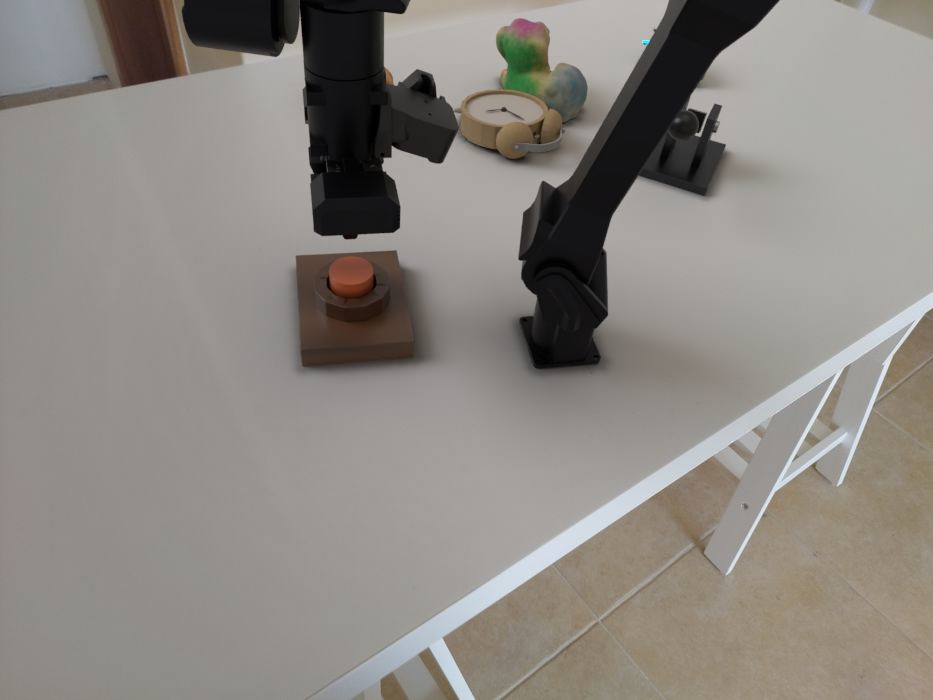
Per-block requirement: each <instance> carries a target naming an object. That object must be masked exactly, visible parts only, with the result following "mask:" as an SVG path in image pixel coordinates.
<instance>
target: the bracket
mask: <svg viewBox="0 0 933 700" xmlns="http://www.w3.org/2000/svg"><path fill="white" fill-rule="evenodd" d="M690 100H691V97H690V98H689V99H688V101H687V102H686V104H685V105H684V107H683V108H682V110H688V106H689V104H690ZM722 108H723V105H722V104H719V103H713V105H712V108H711V110H710V111H709V113H708V115H707V117H706V119H705V122H704V125H703V129H702V130H701V131H702V132H701V135H700V136H699V135H696V134H695V135H694V136H693V137H692V138H691V139H689V140H686V141H677V140H675V139H673V138H672V137H671V136H670V134H669V132H668V131H667V133H666V134H665V136H664V137H663V139H662V140H661V142H660V144H659V145H658V147H657V148H656V150H655V151H654V153H653V154H652V156H651V157H650V159H649V160H648V162H647V163H646V165H645V166H644V168H643V170H642V171H641V173H640V174H639V176H638V177H643V178H645V179H647V180H651V181H654V182H658V183H661V184H663V185H664V184H665V185H667V186H671V187H674V188H677V189H680V190H683V191H686V192H689V193H693V194H696V195H699V196H702V197H705V196H706V193H707V192H708V189H709V186H710V184H711V183H712V180H713V178H714V174H715V172H716V170H717V168H718V166H719V164H720V162H721V159H722V157H723V154H724V152H725V149H726V146H727V143H722V142H719V141H717V140H712V136H713V134H717V132H718V129H719V128H720V124H721V121H718V119H719V117H720V114H721V111H722Z"/></svg>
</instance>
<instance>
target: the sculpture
mask: <svg viewBox="0 0 933 700" xmlns="http://www.w3.org/2000/svg"><path fill="white" fill-rule="evenodd" d="M550 32H551V31H550V29H549V28H548V26H547V25H546V24H545V23H544V22H542V21H531V20H528V19H526V18H522V17H519V18H515V19H513V21H512V22H511V23H510V25H503V26H501V27H500V28H499V29H498V30H497V33H496V36H495V45H496V50H497V51H498V53H499V55H500V56H501V57H502V59H504V60H505V63H506V64H507V66H506V67H507V68H503V69H502V70H501V72H500V76H499V77H500V78H499V81H500V84H501V86H502V88H503V89H504V90H515V91H520V92H524V93H528V94H530V95H533V96H535V97H537V98H539V99H540V100H542V101H543V102H544V103H545V104H546V106H547V107H548V111H549V109H553V110H556V111H557V112H558V113H559V114H560V115H561V118H562V123H567V122H568V121H569V120H572V119H575V118H576V117H578V114H579V113H580V111H581V109H582V107H583V106H584V105H585V103H586V100H587V97H588V82H587V79H586V77H585V75H584V74H583V72H582V71H581V70H580V69H579V68H578V67H577V66H575V65H572V64H569V63H566V62H560V63H558V64H556V65H555V68H554V69H553V70H551V66H550V63H549V47H550V42H551V37H550Z"/></svg>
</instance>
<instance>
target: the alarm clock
mask: <svg viewBox="0 0 933 700" xmlns="http://www.w3.org/2000/svg"><path fill="white" fill-rule="evenodd" d="M453 111H454V113H457V114H460V125H459V130H460V132H461V135H462V136H463V137H464V138H465V139H467V141H469V142H470V143H473V144H475V145H478V146H480V147H482V148H488V149H491V150H497V151H498V152H499V153H500V155H502V156H503V157H504V158H507V159H511V160H512V159H513V160H517V159H521V158H523V157H524V156H526V155H527V154H528V153H529V152H531V153H545V152H550V151H553V150H555V149H557V148H559V147H560V146H561V145H562V142H563V141H562V140H563V134H565V133H566V129H565V128H564V125H563V122H562V118H561V115H560V114H559V113H558V112H557V111H556V110H553V109H549V111H548V107H547V106H546V104H545V103H544V102H543V101H542V100H540V99H539V98H537V97H535V96H533V95H530V94H528V93H524V92H520V91H515V90H504V89H502V88H498V89H497V88H495V89H486V90H481V91H476V92H474V93H472V94H469V95H467V96H466V97H465V98H464V99H463V100H462V101H461V105H460V107H457V108H453ZM539 143H540V144H539Z"/></svg>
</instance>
